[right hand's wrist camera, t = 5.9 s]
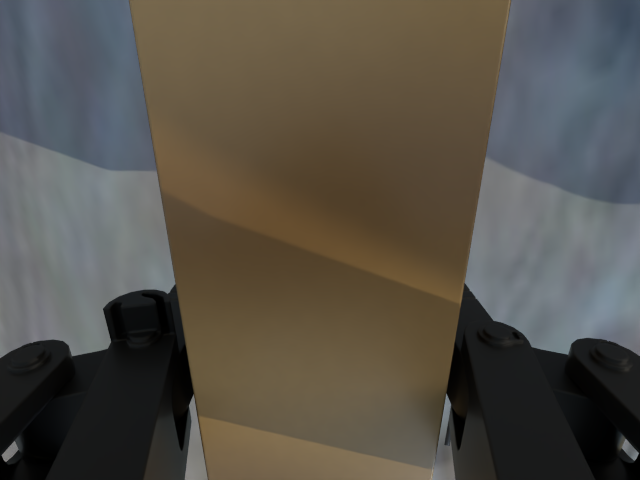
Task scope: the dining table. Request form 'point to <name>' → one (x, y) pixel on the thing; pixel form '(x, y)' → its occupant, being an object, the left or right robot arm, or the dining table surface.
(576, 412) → the right robot arm
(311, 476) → the bar
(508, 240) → the dining table surface
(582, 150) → the dining table surface
